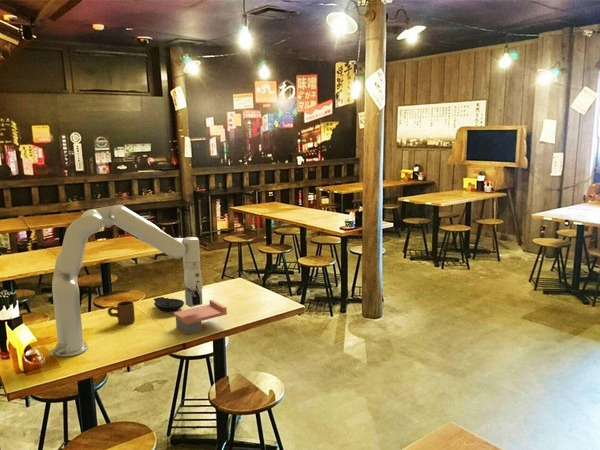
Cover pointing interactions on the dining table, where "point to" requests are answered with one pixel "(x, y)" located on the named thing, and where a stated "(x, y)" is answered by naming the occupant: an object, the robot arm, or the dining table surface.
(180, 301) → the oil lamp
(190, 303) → the block
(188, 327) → the stand
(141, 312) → the dining table surface
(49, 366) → the dining table surface
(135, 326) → the dining table surface
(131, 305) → the mug
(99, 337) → the dining table surface
